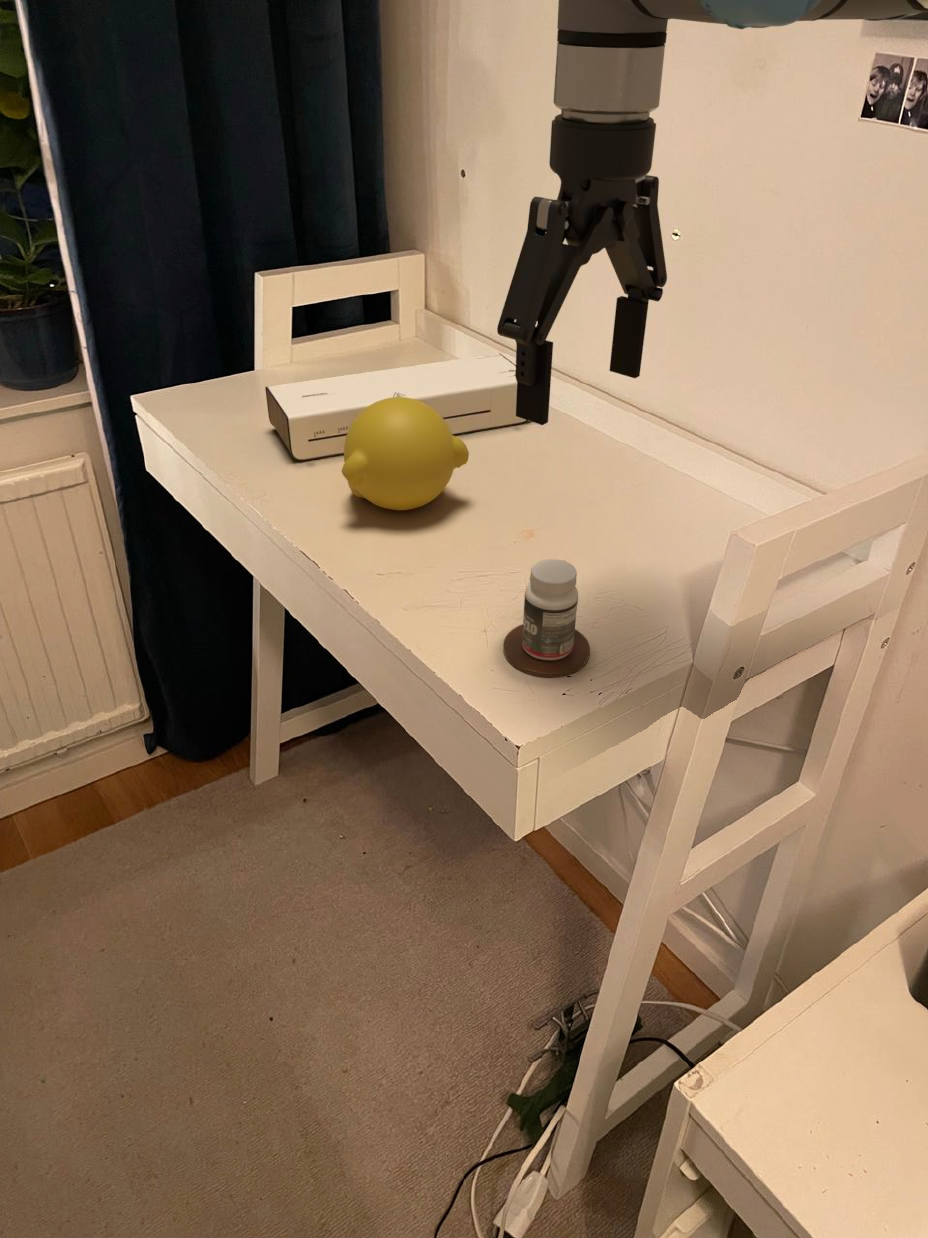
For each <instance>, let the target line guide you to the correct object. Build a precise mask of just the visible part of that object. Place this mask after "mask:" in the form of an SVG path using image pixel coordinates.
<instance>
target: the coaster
mask: <svg viewBox="0 0 928 1238" xmlns="http://www.w3.org/2000/svg"><path fill="white" fill-rule="evenodd" d="M522 633H523V624H520V625H518V626H516V627H514V628H513V629H512V630H510V631H509V632H508V633H507V634H506V636H505V637H504V640H503V644H502V652H503V655H504V657H505V659H506V661H507V662H508V663H509V664H510V665H511V666H512V667H514V668H515V669H517V670H518V671H520V672H523V673H526V674H528V675H531V676H535V677H541V678H558V677H564V676H568V675H571V674H574V673H576V672H577V671H579V670H581V669H582V668H583V667H584V666H585V665H586V664H587V662H588V660H589V659H590V654H591V653H590V651H591V647H590V644H589V641H588V640H587V638H586V637H585V635H584V634H583V633H581V632H580V631H579V630H577V629H576V628H575V631H574V644H573V649H572V651H571V652H570V653H569V654H568V655H567V656H566V657H564V658H562V659H558V660H541V659H537V658H534V657H532V656H531V655H529V654H528V653H527V652H526V651H525V650H524V648H523V645H522Z"/></svg>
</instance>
